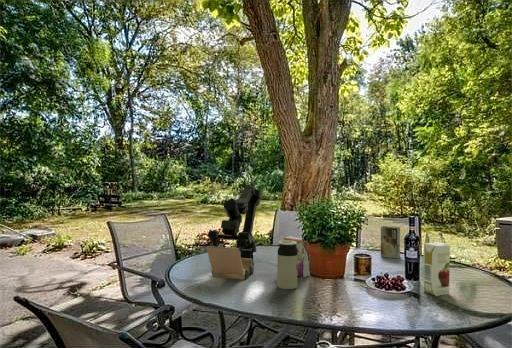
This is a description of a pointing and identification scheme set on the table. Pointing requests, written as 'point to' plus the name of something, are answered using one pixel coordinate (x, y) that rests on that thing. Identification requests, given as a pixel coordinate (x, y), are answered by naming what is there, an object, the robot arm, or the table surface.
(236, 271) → the tailgate
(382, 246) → the coffee box
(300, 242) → the spray bottle
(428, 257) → the juice carton
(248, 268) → the cart bed
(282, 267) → the travel mug
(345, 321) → the table surface
